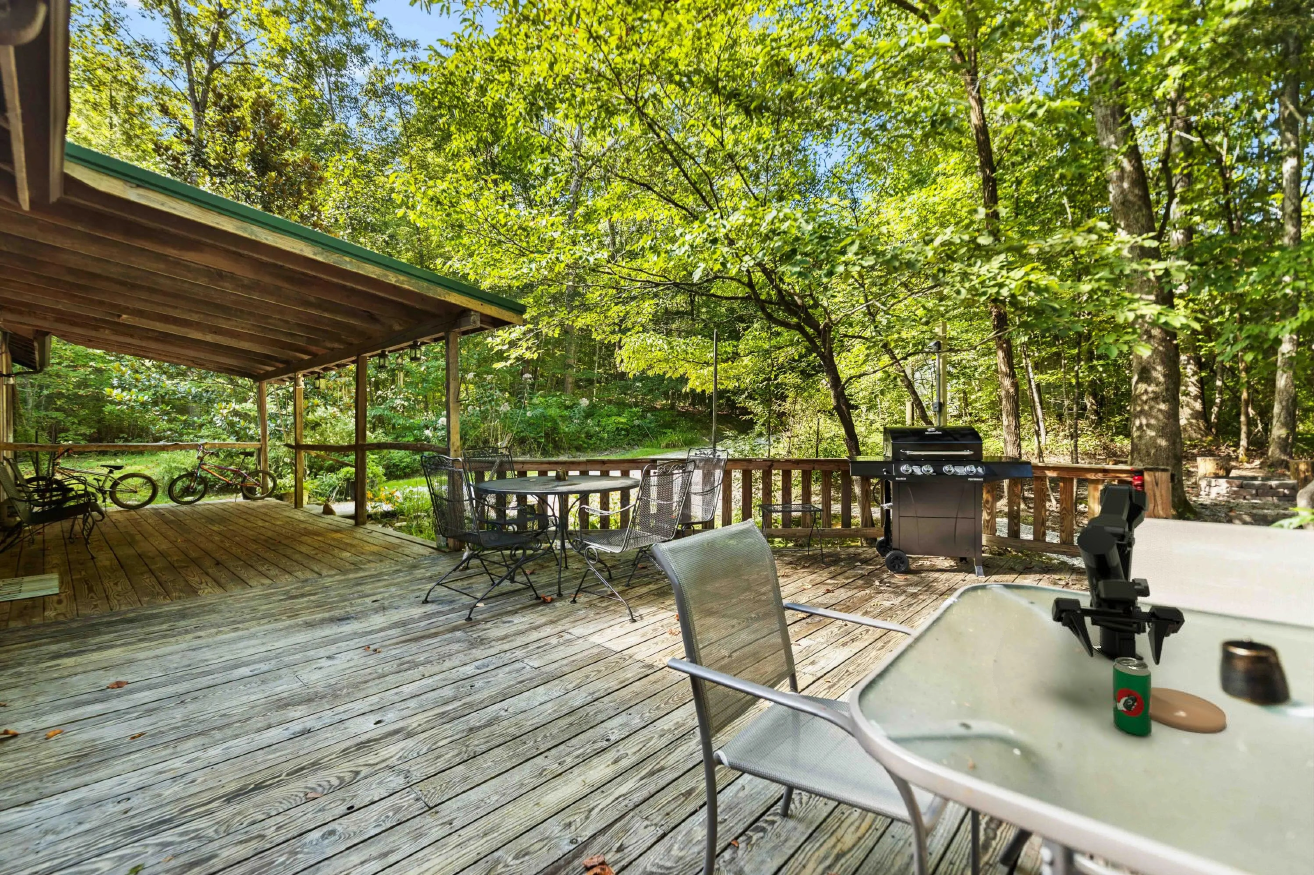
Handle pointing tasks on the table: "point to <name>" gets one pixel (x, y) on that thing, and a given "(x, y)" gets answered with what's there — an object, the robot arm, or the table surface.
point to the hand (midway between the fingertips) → (1124, 660)
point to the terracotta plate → (1186, 711)
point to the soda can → (1132, 697)
